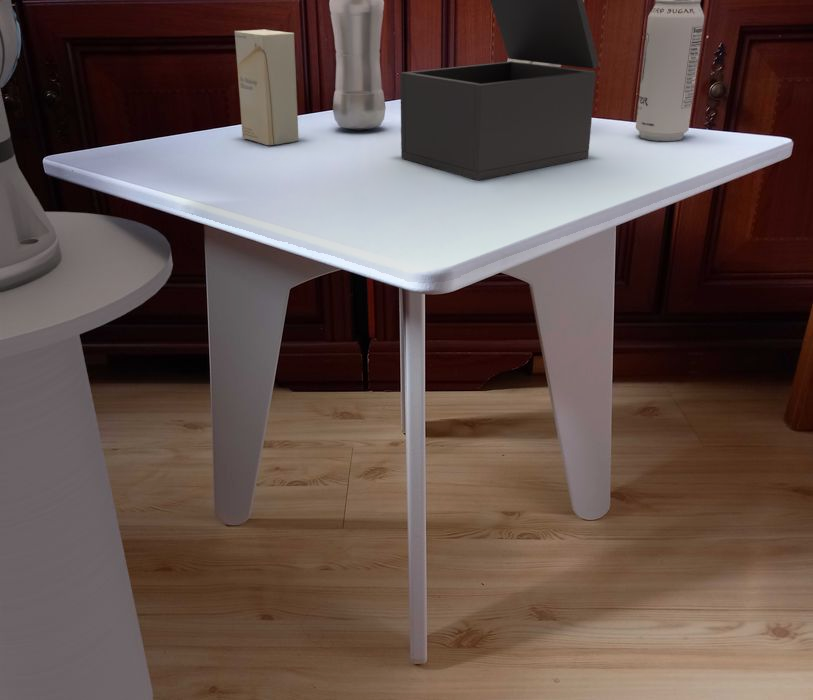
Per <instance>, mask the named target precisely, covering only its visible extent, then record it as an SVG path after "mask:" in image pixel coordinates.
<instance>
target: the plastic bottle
mask: <svg viewBox="0 0 813 700" xmlns="http://www.w3.org/2000/svg"><path fill="white" fill-rule="evenodd" d="M328 5H329V12H330V20H331V25H332V31H333V38H334V50H335V62H336V65H335V83H334V86H335V88H334V89H335V90H334V94H333V99H332V113H333V118H334V121H335V122H336V123H337V125H338V126H339V127H340V128H345V129H348V130H349V129H350V130H354V131H365V130H370V129H373V128H378V127H380V126H381V125H382V124H383V122H384V120H385V115H386V109H387V107H386V100H385V95H384V90H383V84H382V73H381V52H380V50H381V40H382V39H381V36H382V29H383V28H382V27H383V20H384V19H383V18H384V11H385V1H384V0H329V3H328Z"/></svg>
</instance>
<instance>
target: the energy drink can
mask: <svg viewBox="0 0 813 700" xmlns="http://www.w3.org/2000/svg"><path fill="white" fill-rule="evenodd" d="M701 2H702V0H655V4H654V6H653V8H652V9H651V11H650V12H649V14H648V17H647V22H646V32H645V42H644V49H643V57H642V59H643V60H642V67H641V77H640V87H639V94H638V104H637V112H636V122H635V129H636V130H637V131H638V132H639V133H638V134H639V137H640V138H641V139H643V140H647V141H648V140H649V141H654V142H655V141H657V142H674V141H680V140H682V139H683V137H684V135H685V134H686V133H688V132H689V129H690V122H691V114H692V107H693V100H694V94H695V86H696V81H697V79H696V78H697V73H698V65H699V59H700V50H701V45H702V37H703V30H704V22H705V14H704V11H703V9H702V7H701Z"/></svg>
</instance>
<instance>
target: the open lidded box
mask: <svg viewBox="0 0 813 700" xmlns="http://www.w3.org/2000/svg"><path fill="white" fill-rule="evenodd" d="M596 75H597V72H596V71H593V70H586V69H577V68H570V67H569V68H568V67H562V66H561V67H554V66H545V65H537V64H529V63H521V62H512V61H510V62H507V61H502V62H501V61H500V62H491V63H482V64H481V63H479V64H472V65H471V64H470V65H462V66H461V65H460V66H452V67H451V66H450V67H443V68H433V69H421V70H412V71H404V72H400V74H399V77H400V81H399V82H400V84H399V85H400V86H399V87H400V140H401V141H400V149H401V150H400V156H401V157H400V158H401V159H404V160H407V161H410V162H413V163H417V164H420V165H424V166H427V167H431V168H434V169H438V170H440V171H441V170H442V171H445V172H448V173H451V174H455V175H458V176H462V177H465V178H469V179H472V180H476V181H482V180H487V179H491V178H496V177H501V176H506V175H511V174H516V173H521V172H525V171H531V170H535V169H540V168H545V167H551V166H555V165H560V164H566V163H570V162H575V161H581V160H584V159H585V160H586V159H588V158H589V155H590V153H589V152H590V142H591V132H592V131H591V130H592V118H593V109H594V108H593V107H594V96H595V87H596V86H595V85H596Z"/></svg>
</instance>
